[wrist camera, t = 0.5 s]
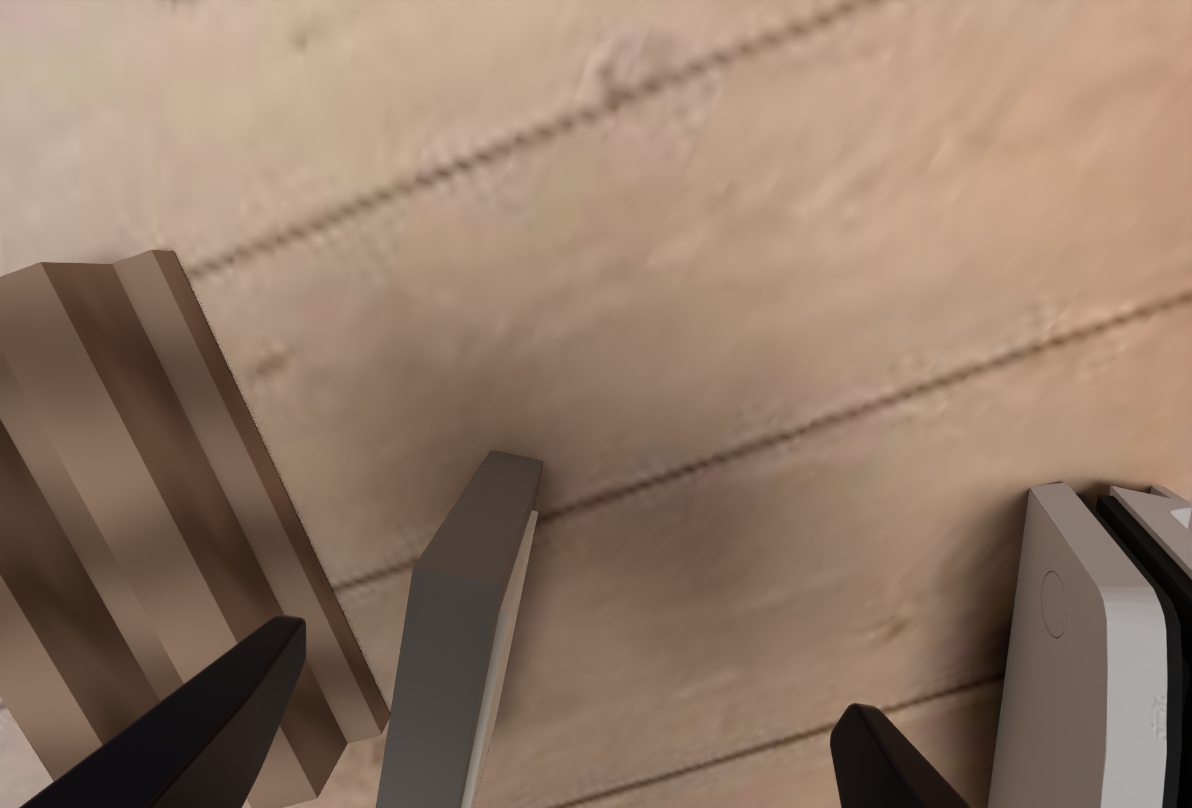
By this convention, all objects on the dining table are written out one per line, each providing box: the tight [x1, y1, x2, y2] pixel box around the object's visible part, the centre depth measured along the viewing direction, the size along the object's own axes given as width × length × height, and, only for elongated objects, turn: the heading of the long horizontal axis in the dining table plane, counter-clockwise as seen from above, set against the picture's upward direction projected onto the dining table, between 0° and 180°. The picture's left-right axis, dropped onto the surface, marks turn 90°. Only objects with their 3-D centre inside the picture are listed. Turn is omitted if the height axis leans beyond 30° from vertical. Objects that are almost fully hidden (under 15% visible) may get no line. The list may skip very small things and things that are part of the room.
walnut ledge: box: [0, 250, 390, 808], centre depth 21 cm, size 20×12×4 cm, turn 18°
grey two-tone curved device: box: [988, 483, 1192, 808], centre depth 19 cm, size 17×5×10 cm, turn 2°
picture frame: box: [376, 450, 543, 808], centre depth 18 cm, size 2×12×9 cm, turn 168°
